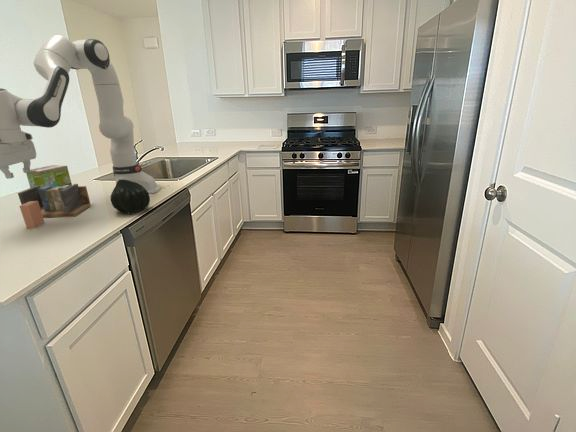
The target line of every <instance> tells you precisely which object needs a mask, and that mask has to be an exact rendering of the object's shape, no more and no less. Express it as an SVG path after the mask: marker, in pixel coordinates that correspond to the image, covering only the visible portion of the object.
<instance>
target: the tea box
mask: <svg viewBox="0 0 576 432" xmlns="http://www.w3.org/2000/svg"><path fill="white" fill-rule="evenodd" d="M30 170H31V172H29V173H25V175H26V177H27V181H28V184H29V188H32V187H34V186H39V187H40V188H42V187H44V186H52V188H55V187H58V186H63V185H71V186H72V185H73V184H72V180H71V176H70V171H69V168H68V165H60V164H59V165H57V164H56V165H55V164H51V165H45V166H42V167H35V168H30Z"/></svg>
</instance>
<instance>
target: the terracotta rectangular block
mask: <svg viewBox="0 0 576 432" xmlns="http://www.w3.org/2000/svg"><path fill="white" fill-rule="evenodd" d="M19 208H20V212H21V215H22V218H23V221H24V223H25V227H26V228H27V229H33V228H34V229H35V228H37V227H38V226H41V225H42V224H44V223H45V218H43V216H42V212H41V209H40V206H39V203H38V201H29V202H27V203H25V204H23V205H19Z"/></svg>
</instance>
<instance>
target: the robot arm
mask: <svg viewBox="0 0 576 432" xmlns="http://www.w3.org/2000/svg"><path fill="white" fill-rule="evenodd" d="M110 61H111V60H110V53H109V50H108V49H107V47H106V45H105V44H104V43H103V42H102V41H101V40H99V39H95V38H88V39H87V38H86V39H78V40H77V39H76V40H75V41H72V40H70V39H69V38H67V37H66V36H64V35H60V34H54V35H51V36H50V37H48V38H47V39H46V41H45V42H43V44H42V45H41V47H40V48H39V50H38V51H37V53H36V55H35V57H34V59H33V66H34V68H35V71H36V72H37V73H38V75H40V76H41V77H42V78H43V79H44V80H46V81H47V83H46V85H45V88H44V91H43V92H42V95H41V96H39V97H36V98H23V97H20V96H17V95H15V94H12V93H11V92H10V91H8V90H7V89H6V88H1V87H0V171H1V172H2V173H3V174H4V176H5V178H6V179H13V178H14V177H15V176H14V173H13V172H11V171H10V166H13V165H16V164H20V163H22V164H23V168H22V172H23V173H24V174H26V173H29V172H31V165H32V164H31V160H35V159H36V158H37V151H36V147H35V144H34V142H33V135H32V134H31V133H29V132H25V131H23V130H22V129H21V126H22V127H39V128H53V127H55V126H57V125H58V124H59V123H60V120H61V115H62V112H61V111H62V105H63V102H64V99H65V96H66V94H67V91H68V88H69V84H70V74H69V72H70V71H71V69H72V70H77V71H78V70H88V71H89V73H90V75H91V80H92V84H93V87H94V92H95V96H96V99H97V103H98V116H99V124H98V130H99V132H100V133H101V135H102V136H103V137H105V138H107V139H110V150H109V152H110V157H111V162H112V173H113V176H114V178H115V185H116V184H117V182H118V181H119V179H121V180H129V181H132V182H136V183H138V184H140V185H142V186H143V187H144V188H145V189H146V190H147V192H148V193H149V195H151V194H155V193H157V192H159V191H160V190H161V189H162V186H161V185H160V184H157V183H156V180H155V178H154V177H153V176H151V175H150V174H148V173H146V172H145V171H143V170H142V167H143V166H142V164H140V165H139V164H138V163H137V159H136V152H135V141H134V123H133V121H132V119H130V118H129V117H127V116H126V115H125V114H124V113H125V112H124V103H125V102H124V98H123V93H122V89H121V85H120V80H119V77H118V75H117V72H116V69H115V66H114V65H113V63H112V62H110Z"/></svg>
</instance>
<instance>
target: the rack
mask: <svg viewBox="0 0 576 432" xmlns="http://www.w3.org/2000/svg"><path fill="white" fill-rule="evenodd" d="M17 195H18V199H19V201H20V204H21V205H23V204H25V203H27V202H29V201H38V203H39V206H40V209H41V212H42V216H43V219H48V218H49V219H53V217H55V218H69V217H77V216H78V215H80V214H81V213H83V212H84V211H86V210H87V209H89V208H90V207H92V205H91V200H90V197H89V193H88V190H87V185H85V186H81V185H80V186H79V184H78V183H74V184H72V186H71V185H63V186H58V187H55V188H52V186H44V187H42V188H40V187H39V186H34V187H32V188H30V187H29V188H27V189H24V190H22V191H19V192H17ZM21 205H20V206H21Z"/></svg>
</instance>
